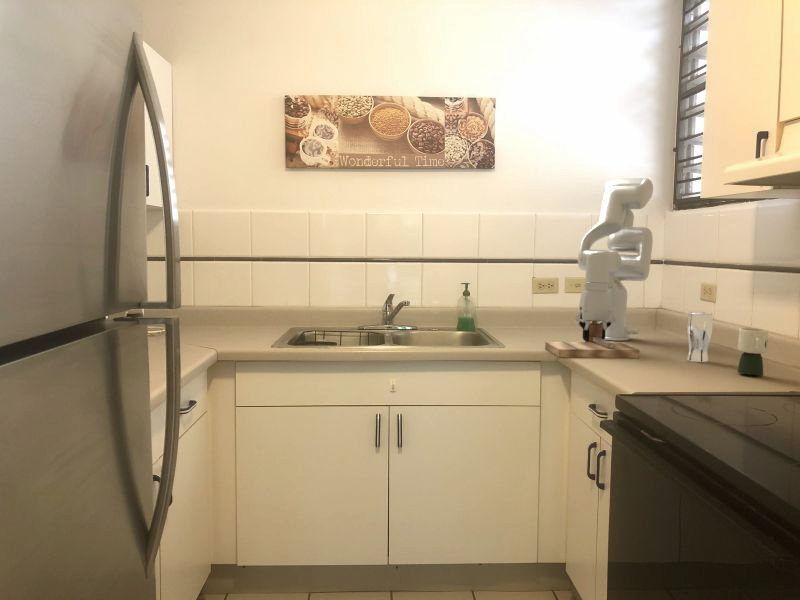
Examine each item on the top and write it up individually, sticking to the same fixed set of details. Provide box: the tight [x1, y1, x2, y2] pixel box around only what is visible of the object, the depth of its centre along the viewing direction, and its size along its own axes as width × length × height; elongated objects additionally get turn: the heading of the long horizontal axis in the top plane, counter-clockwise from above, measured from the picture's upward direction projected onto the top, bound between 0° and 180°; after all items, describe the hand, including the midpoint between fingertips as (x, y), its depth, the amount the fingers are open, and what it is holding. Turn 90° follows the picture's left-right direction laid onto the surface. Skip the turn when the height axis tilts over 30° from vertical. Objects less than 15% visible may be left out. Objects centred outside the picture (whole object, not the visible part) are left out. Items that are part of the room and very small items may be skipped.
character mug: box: [737, 327, 769, 377], centre depth 175 cm, size 11×7×13 cm, turn 166°
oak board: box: [544, 341, 640, 359], centre depth 203 cm, size 26×14×3 cm, turn 94°
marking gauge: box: [584, 321, 613, 348], centre depth 206 cm, size 4×15×9 cm, turn 4°
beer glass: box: [686, 311, 714, 364], centre depth 194 cm, size 7×7×15 cm
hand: (593, 340), depth 212 cm, fingers closed on marking gauge, 4 cm apart
